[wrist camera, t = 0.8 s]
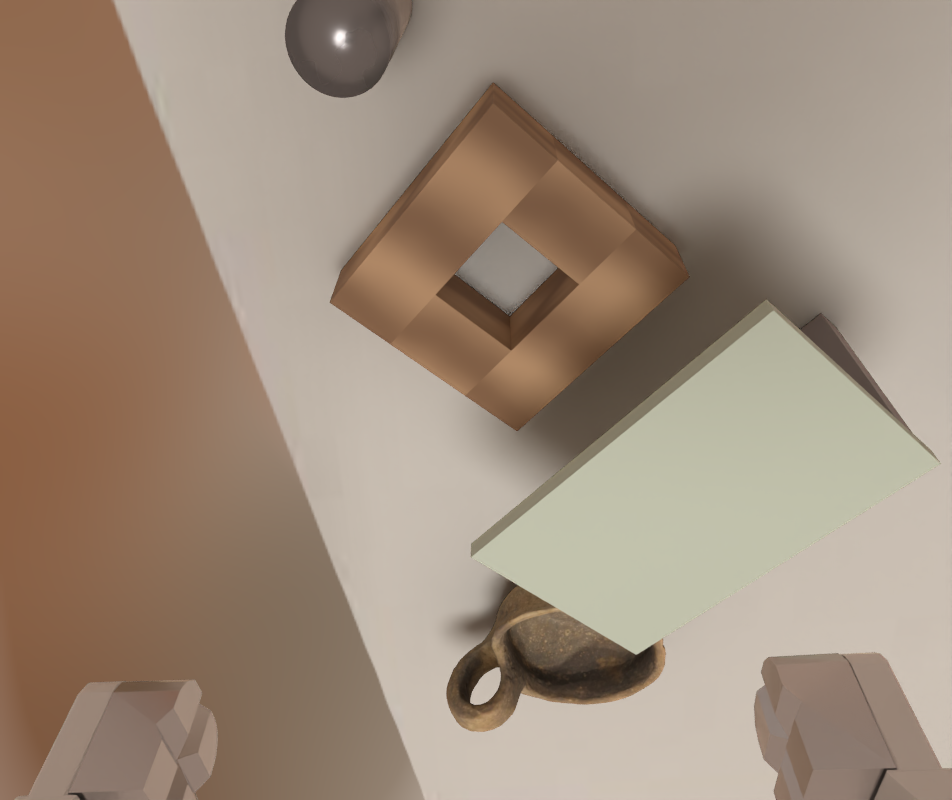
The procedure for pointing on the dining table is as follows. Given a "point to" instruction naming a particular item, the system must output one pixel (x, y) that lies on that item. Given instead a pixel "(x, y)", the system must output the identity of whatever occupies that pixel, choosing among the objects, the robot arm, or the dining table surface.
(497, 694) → the brown rounded scoop
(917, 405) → the dining table surface
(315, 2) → the peg
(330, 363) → the dining table surface
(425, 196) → the socket plate
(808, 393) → the pale green platform
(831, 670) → the robot arm
